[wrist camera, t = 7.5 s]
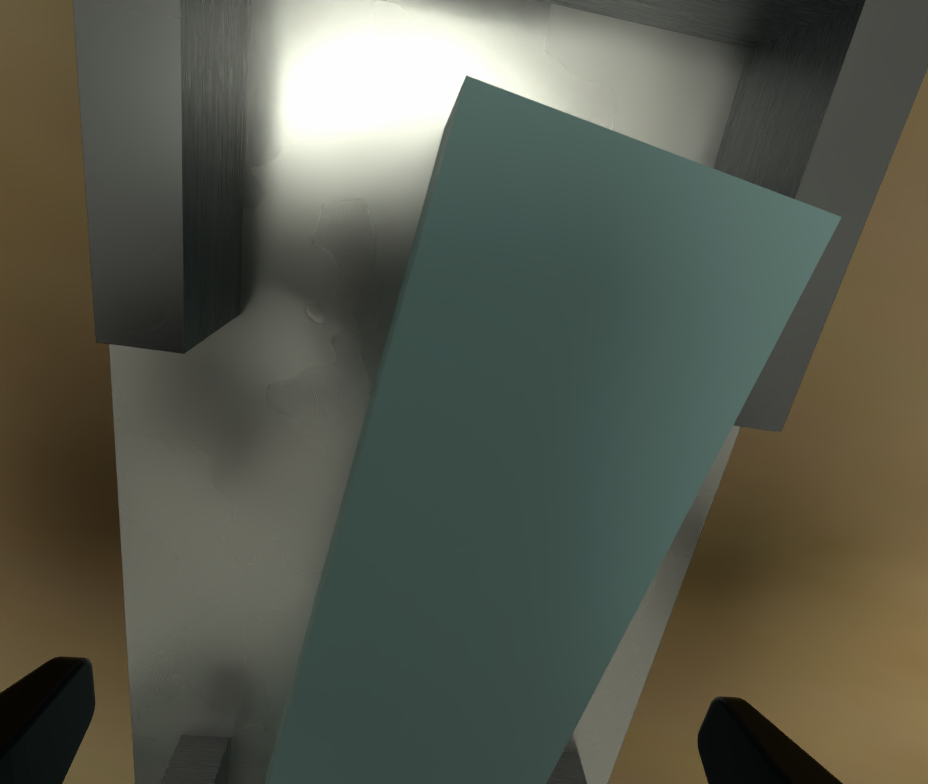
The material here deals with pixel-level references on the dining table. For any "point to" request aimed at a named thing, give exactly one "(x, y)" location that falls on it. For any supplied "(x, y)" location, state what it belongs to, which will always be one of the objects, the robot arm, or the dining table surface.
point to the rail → (531, 440)
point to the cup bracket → (387, 280)
